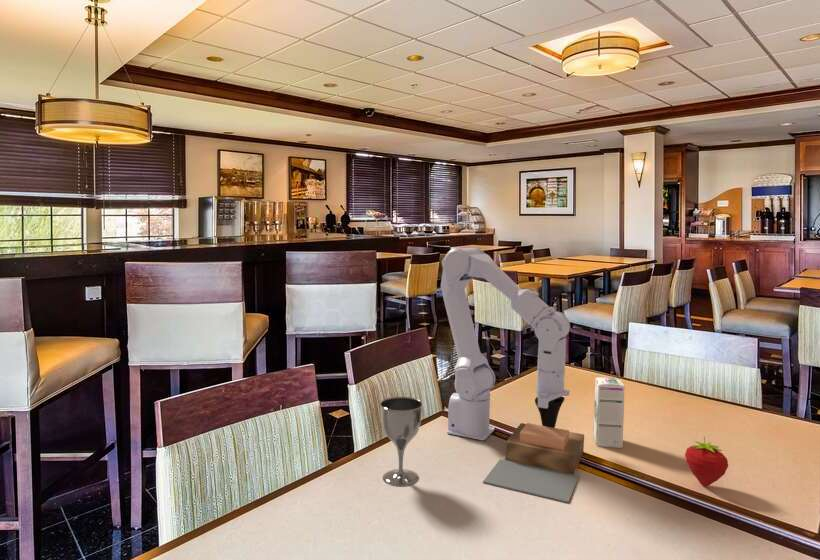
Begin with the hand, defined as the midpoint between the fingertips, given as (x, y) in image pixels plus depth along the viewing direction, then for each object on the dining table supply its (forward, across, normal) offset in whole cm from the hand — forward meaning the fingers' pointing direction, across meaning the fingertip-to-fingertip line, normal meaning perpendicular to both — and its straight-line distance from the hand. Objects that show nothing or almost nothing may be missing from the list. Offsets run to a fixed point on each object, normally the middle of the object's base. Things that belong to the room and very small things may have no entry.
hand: (548, 430), depth 115 cm
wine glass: (+5, -26, +23) cm, 35 cm away
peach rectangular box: (+1, -4, 0) cm, 4 cm away
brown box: (+5, -2, 0) cm, 6 cm away
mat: (+5, -14, 0) cm, 15 cm away
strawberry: (+5, -2, -30) cm, 30 cm away
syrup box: (+5, +12, -11) cm, 17 cm away
